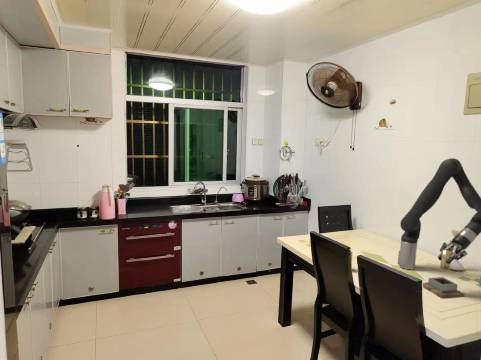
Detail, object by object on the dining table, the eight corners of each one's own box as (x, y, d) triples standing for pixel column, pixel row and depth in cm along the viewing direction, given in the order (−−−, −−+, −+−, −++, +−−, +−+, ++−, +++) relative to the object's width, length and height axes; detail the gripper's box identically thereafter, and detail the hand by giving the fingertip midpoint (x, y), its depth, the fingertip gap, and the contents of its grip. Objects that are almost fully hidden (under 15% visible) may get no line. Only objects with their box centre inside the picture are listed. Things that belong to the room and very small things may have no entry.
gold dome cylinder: (438, 266, 174) (440, 249, 173) (445, 266, 175) (447, 248, 174) (444, 270, 170) (447, 251, 169) (451, 269, 171) (454, 251, 170)
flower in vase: (467, 273, 200) (472, 234, 197) (446, 270, 202) (451, 232, 199) (457, 265, 213) (462, 228, 210) (438, 263, 215) (442, 226, 212)
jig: (420, 285, 180) (421, 276, 179) (442, 284, 182) (443, 275, 182) (441, 298, 166) (442, 288, 165) (463, 296, 169) (465, 286, 168)
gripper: (449, 230, 179) (428, 251, 178) (473, 238, 165) (450, 261, 164) (456, 238, 181) (435, 260, 180) (480, 247, 167) (457, 271, 166)
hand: (442, 261), depth 172 cm, fingers closed on gold dome cylinder, 4 cm apart
